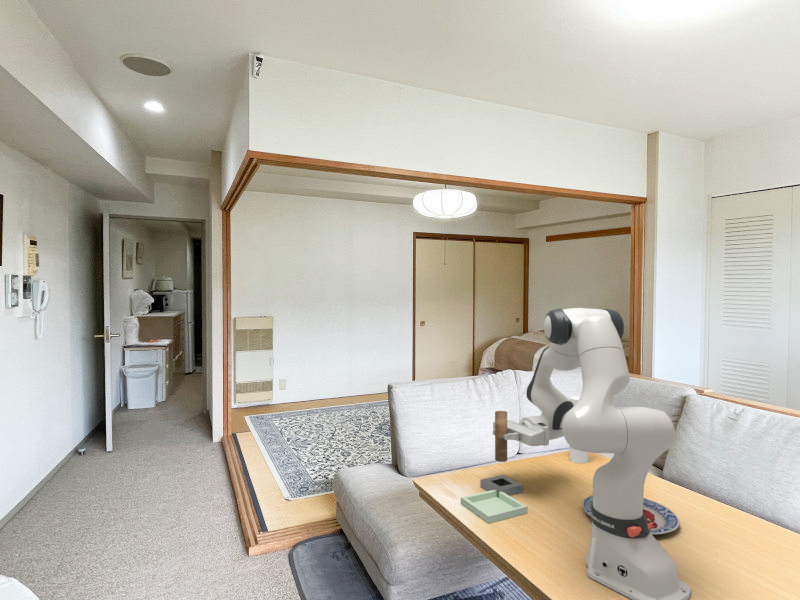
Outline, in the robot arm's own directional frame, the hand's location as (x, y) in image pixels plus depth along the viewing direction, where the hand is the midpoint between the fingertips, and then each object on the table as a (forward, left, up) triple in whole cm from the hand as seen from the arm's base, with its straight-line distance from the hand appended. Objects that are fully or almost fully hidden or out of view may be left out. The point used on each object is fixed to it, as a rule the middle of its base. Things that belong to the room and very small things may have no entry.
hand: (498, 434), depth 155 cm
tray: (-9, +9, -20) cm, 23 cm away
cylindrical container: (+11, -49, -20) cm, 54 cm away
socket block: (+1, -2, -20) cm, 20 cm away
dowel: (0, -1, -9) cm, 9 cm away
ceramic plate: (-31, -24, -20) cm, 44 cm away
